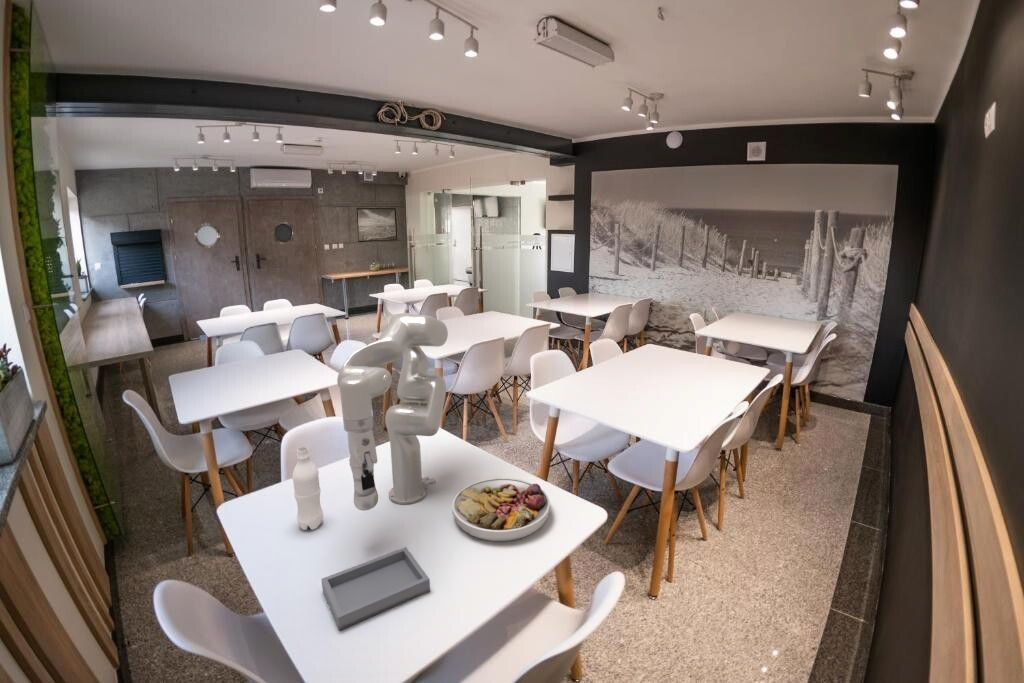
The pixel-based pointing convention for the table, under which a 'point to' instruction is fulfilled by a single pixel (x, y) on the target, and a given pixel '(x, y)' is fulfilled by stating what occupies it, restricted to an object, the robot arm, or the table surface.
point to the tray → (374, 587)
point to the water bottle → (307, 491)
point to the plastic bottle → (361, 497)
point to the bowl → (501, 509)
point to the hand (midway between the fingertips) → (364, 482)
